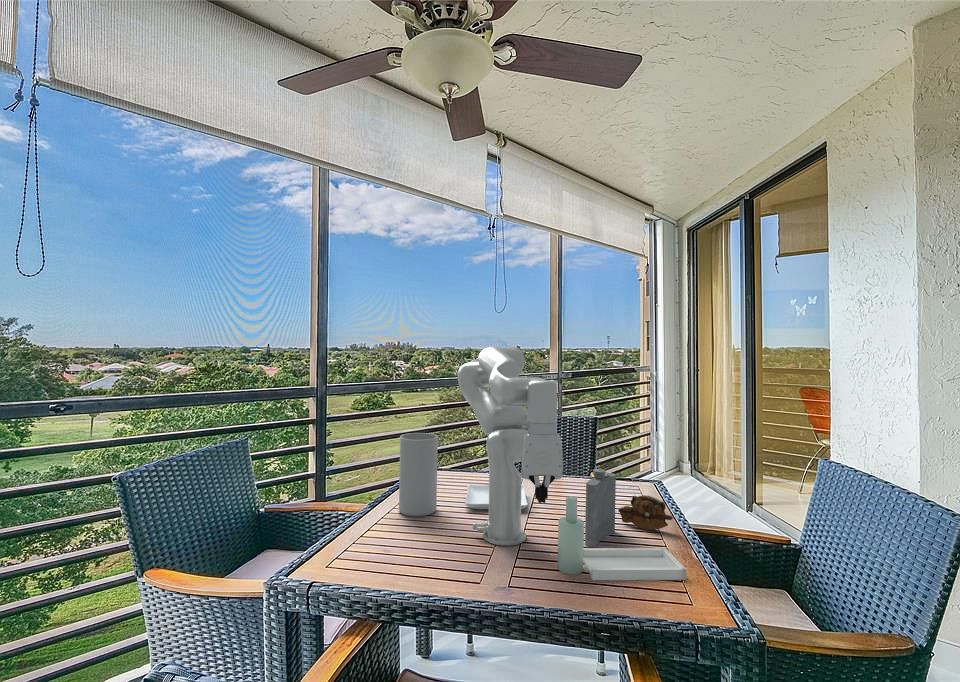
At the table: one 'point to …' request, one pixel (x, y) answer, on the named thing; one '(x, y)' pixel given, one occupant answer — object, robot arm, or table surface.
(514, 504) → the robot arm
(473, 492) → the salad plate
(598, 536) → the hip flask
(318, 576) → the table surface
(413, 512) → the cylinder vase
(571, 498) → the bottle
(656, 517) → the wooden carving
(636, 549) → the white rectangular tray
